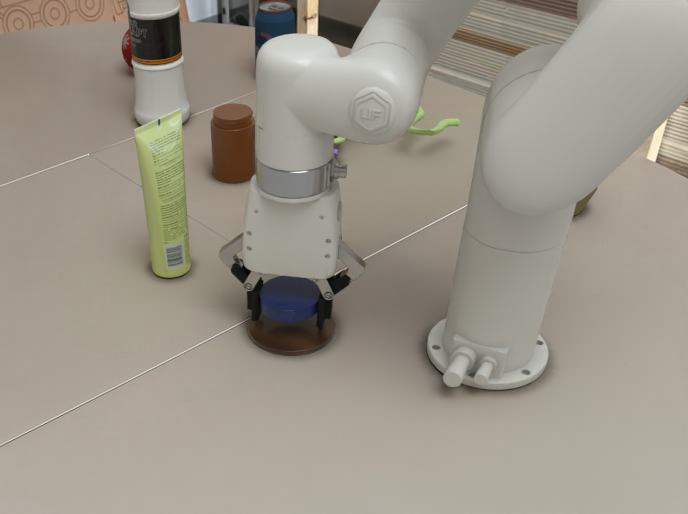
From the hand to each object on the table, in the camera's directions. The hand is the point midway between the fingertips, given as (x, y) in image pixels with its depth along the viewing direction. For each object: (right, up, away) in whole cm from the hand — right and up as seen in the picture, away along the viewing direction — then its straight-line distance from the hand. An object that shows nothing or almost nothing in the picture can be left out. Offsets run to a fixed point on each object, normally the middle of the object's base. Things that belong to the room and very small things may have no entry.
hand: (289, 316), depth 94 cm
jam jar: (-5, +25, +29) cm, 39 cm away
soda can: (+3, +51, +56) cm, 76 cm away
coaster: (0, -1, +1) cm, 2 cm away
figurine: (+15, +33, +36) cm, 51 cm away
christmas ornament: (-21, +54, +60) cm, 83 cm away
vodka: (-17, +39, +45) cm, 61 cm away
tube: (-14, +8, +12) cm, 19 cm away
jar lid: (0, +2, -2) cm, 3 cm away
